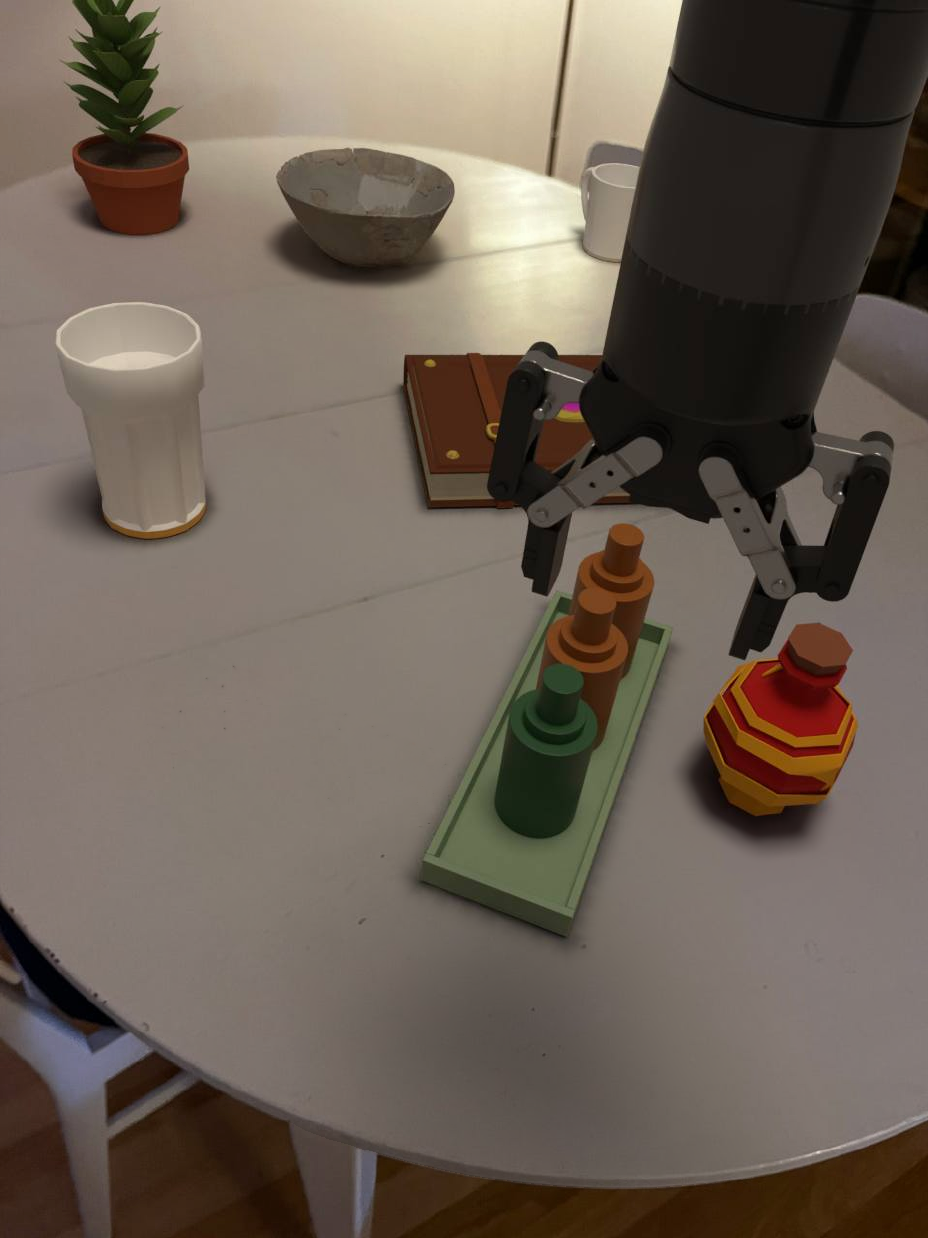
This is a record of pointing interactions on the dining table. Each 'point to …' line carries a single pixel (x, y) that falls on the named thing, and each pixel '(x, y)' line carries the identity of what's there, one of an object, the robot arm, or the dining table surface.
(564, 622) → the amber bottle mid
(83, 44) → the potted plant
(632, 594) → the amber bottle far
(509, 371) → the book
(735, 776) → the potion bottle
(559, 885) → the tray
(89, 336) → the cup
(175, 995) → the dining table surface
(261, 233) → the dining table surface
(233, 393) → the dining table surface
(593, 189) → the mug
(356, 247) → the ceramic bowl
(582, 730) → the green bottle
